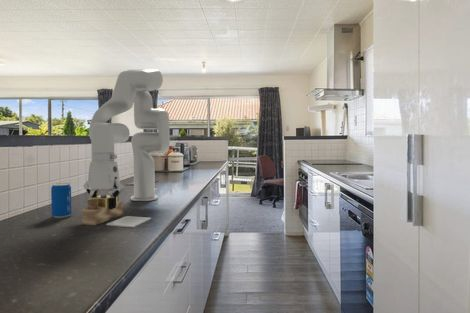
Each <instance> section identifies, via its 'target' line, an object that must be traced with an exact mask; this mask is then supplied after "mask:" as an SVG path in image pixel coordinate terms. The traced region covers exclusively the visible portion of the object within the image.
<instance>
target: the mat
mask: <svg viewBox="0 0 470 313" xmlns="http://www.w3.org/2000/svg"><path fill="white" fill-rule="evenodd" d="M150 220H152V217H143V216H131V215H126V216H123V217H121V218H118V219H116V220H113V221H110V222H107V223H106V226H111V227H123V228H135V227H137V226H140V225H141V224H143V223H146V222H148V221H150Z"/></svg>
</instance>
